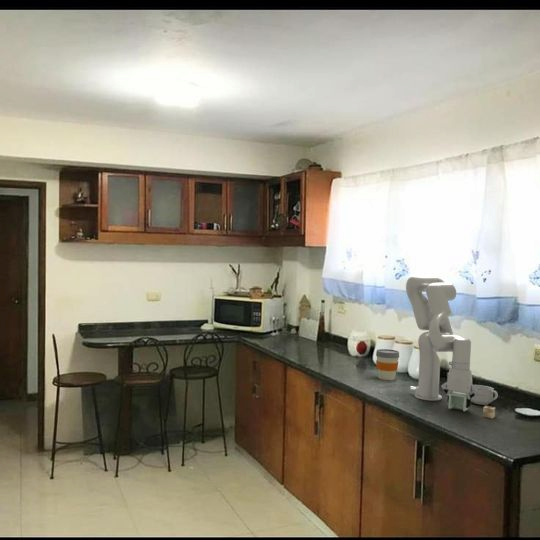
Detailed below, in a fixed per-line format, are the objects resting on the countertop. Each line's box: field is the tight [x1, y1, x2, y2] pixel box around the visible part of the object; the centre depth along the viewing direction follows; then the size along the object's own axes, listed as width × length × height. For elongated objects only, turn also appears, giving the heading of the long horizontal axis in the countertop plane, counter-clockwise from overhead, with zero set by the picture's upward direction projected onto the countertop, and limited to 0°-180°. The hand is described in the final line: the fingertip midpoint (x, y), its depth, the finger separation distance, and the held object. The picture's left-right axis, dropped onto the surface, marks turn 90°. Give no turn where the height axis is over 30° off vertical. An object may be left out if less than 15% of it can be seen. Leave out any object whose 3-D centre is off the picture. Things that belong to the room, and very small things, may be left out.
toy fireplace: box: [448, 391, 470, 412], centre depth 254 cm, size 7×6×6 cm
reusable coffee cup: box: [375, 348, 400, 381], centre depth 315 cm, size 13×12×15 cm
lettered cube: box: [482, 405, 496, 419], centre depth 246 cm, size 4×4×4 cm
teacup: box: [470, 384, 499, 406], centre depth 267 cm, size 14×11×8 cm
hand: (458, 405), depth 254 cm, fingers closed on toy fireplace, 7 cm apart
